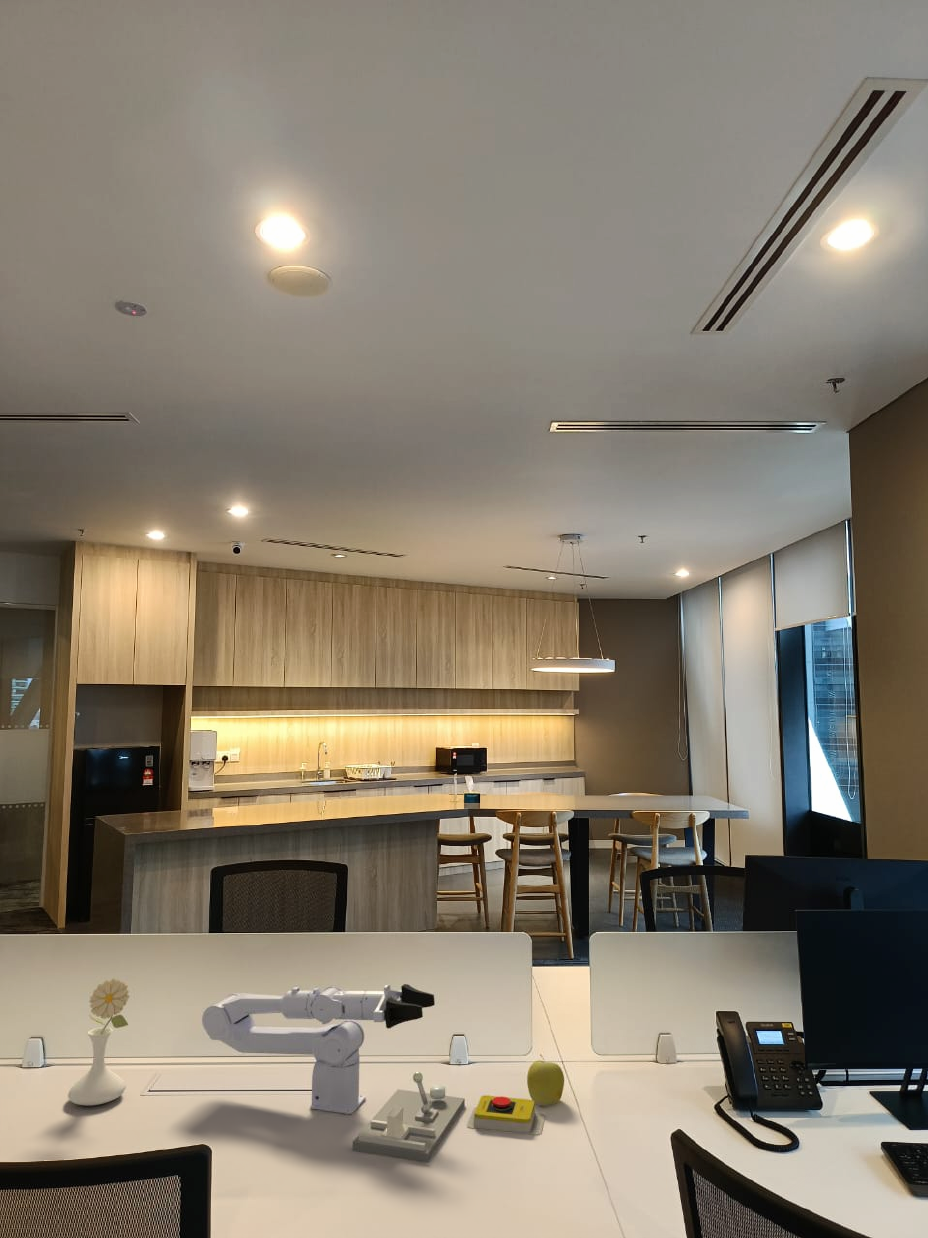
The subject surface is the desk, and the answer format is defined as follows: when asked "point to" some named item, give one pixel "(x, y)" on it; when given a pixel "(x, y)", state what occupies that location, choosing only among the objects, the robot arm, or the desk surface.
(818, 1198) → the desk surface
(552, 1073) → the apple
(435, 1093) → the push button
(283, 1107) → the desk surface
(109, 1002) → the flower in vase
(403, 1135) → the paddle slider
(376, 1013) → the robot arm
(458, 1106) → the grey base plate
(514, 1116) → the emergency button
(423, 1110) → the toggle lever
